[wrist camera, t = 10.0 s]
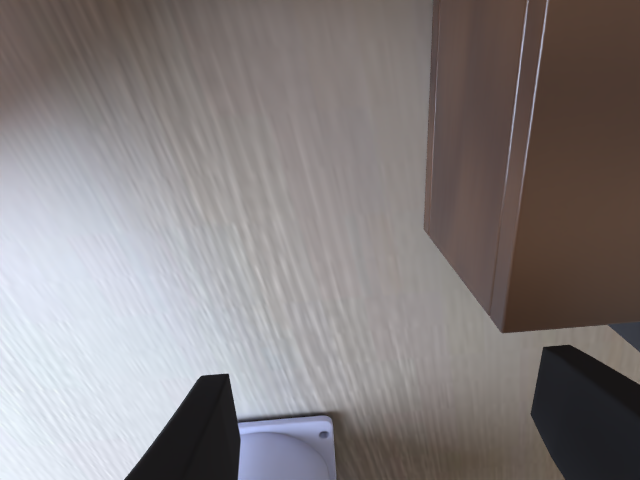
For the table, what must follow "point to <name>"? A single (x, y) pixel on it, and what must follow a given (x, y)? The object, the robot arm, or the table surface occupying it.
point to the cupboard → (537, 158)
